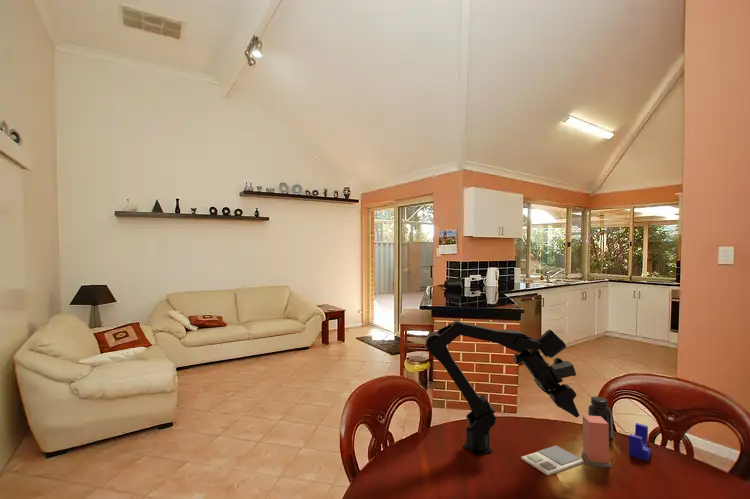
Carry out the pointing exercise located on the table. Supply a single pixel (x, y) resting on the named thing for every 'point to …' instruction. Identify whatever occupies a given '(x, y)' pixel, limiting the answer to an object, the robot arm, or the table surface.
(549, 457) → the panel board
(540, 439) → the table surface
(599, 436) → the salmon block on plinth
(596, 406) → the supplement bottle
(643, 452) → the blue cradle bracket
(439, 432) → the table surface
